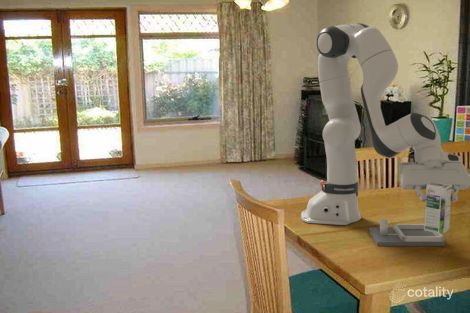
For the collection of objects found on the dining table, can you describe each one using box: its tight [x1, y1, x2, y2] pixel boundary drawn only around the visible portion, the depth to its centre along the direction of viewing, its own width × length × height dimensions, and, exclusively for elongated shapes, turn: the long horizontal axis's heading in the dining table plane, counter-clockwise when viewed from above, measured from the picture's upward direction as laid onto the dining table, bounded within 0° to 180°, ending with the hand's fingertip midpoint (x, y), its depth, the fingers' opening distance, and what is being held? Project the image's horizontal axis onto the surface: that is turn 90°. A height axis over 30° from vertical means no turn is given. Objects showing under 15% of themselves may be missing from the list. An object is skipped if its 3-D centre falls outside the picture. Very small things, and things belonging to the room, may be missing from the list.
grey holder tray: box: [368, 218, 446, 247], centre depth 155 cm, size 21×14×6 cm, turn 85°
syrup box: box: [423, 183, 453, 235], centre depth 142 cm, size 6×6×14 cm
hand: (439, 200), depth 141 cm, fingers closed on syrup box, 8 cm apart
